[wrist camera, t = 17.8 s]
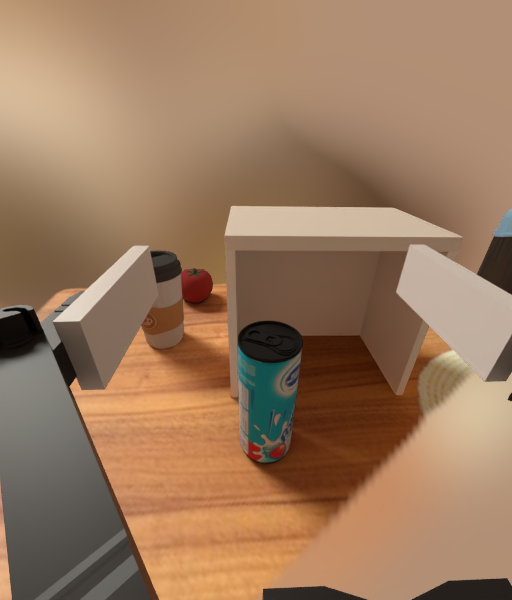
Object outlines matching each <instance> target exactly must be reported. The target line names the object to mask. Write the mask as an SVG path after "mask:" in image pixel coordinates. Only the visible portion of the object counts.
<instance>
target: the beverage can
mask: <svg viewBox="0 0 512 600" xmlns="http://www.w3.org/2000/svg"><path fill="white" fill-rule="evenodd" d="M302 345H303V339H302V336H301V334H300V333H299V332H298V331H297V330H296V329H295V328H293V327H292V326H290V325H288V324H285V323H282V322H278V321H258V322H254V323H252V324H249V325H247V326H246V327H244V328H243V329H242V330H241V331H240V333H239V335H238V391H239V430H240V444H241V446H242V449H243V451H244V452H245V453H246V455H247V456H248V457H249V458H251V459H252V460H254V461H256V462H259V463H266V464H268V463H273V462H276V461H278V460H280V459H281V458H282V457H283V456H284V455H285V454H286V453H287V451H288V449H289V447H290V443H291V435H292V427H293V419H294V411H295V404H296V396H297V388H298V380H299V371H300V363H301V354H302Z"/></svg>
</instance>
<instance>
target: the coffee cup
mask: <svg viewBox="0 0 512 600" xmlns="http://www.w3.org/2000/svg"><path fill="white" fill-rule="evenodd" d="M150 253H151V258H152V263H153V268H154V274H155V279H156V284H157V289H158V294H159V295H158V297H157V298H156V300H155V302H154V304H153V305H152V307H151V309H150V311H149V313H148V314H147V316H146V318H145V320H144V321H143V323H142V325H141V326H142V329H143V331H144V334H145V337H146V340H147V342H148V343H149V344H150V345H151V346H152V347H154V348H157V349H165V348H170V347H173V346H175V345H177V344H178V343H179V342H180V341H181V340H182V338H183V336H184V324H183V320H184V314H183V295H182V286H181V272H182V269H181V266H180V262H179V260H177V256H176V255H175V254H174V253H171V252H167V251H150Z"/></svg>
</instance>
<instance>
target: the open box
mask: <svg viewBox="0 0 512 600" xmlns="http://www.w3.org/2000/svg"><path fill="white" fill-rule="evenodd" d="M462 240H463V237H461V236H459V235H457V234H454V233H452V232H450V231H447V230H445V229H442V228H440V227H438V226H435V225H433V224H431V223H428V222H426V221H424V220H421V219H419V218H417V217H414V216H412V215H410V214H407V213H405V212H403V211H400V210H398V209H395V208H355V207H353V208H352V207H347V208H346V207H262V206H231V211H230V215H229V219H228V223H227V228H226V232H225V258H226V284H227V310H228V336H229V362H230V388H231V397H238V335H239V333H240V331H241V330H242V329H243V328H244V327H246V326H247V325H249V324H252V323H254V322H258V321H278V322H282V323H285V324H288V325H290V326H292V327H293V328H295V329H296V330H297V331H298V332H299V333H300V334H301V336H347V335H360V337H361V338H362V340H363V342H364V343H365V345H366V347H367V348H368V350H369V352H370V353H371V355H372V357H373V358H374V360H375V362H376V363H377V365H378V367H379V368H380V370H381V372H382V374H383V375H384V377H385V379H386V380H387V382H388V384H389V385H390V387H391V389H392V390H393V392H394V394H395V395H403V393H404V390H405V387H406V385H407V382H408V380H409V377H410V374H411V372H412V369H413V367H414V364H415V361H416V359H417V356H418V354H419V351H420V349H421V346H422V343H423V341H424V338H425V336H426V333H427V330H428V328H429V325H428V324H427V323H426V322H425V321H424V320H423V319H422V318H421V317H420V316H419V315H418V314H417V313H416V312H415V311H414V310H413V309H412V308H411V307H410V306H409V305H408V304H407V303H406V302H405V301H404V300H403V299H402V298H401V297H400V296H399V295H398V294H397V293H396V291H397V287H398V284H399V280H400V277H401V273H402V270H403V266H404V263H405V260H406V256H407V253H408V249H409V246H410V245H426V246H428V247H430V248H431V249H433V250H435V251H437V252H438V253H440V254H442V255H444V256H445V257H447V258H449V259H450V260H452V261H455V258H456V256H457V253H458V250H459V248H460V245H461V243H462Z"/></svg>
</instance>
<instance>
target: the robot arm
mask: <svg viewBox="0 0 512 600" xmlns="http://www.w3.org/2000/svg"><path fill="white" fill-rule="evenodd" d="M493 236H494V237H493V240H492V242H491V244H490V247H489V249H488V251H487V253H486V255H485V258H484V260H483V262H482V264H481V266H480V268H479V271H478V273H477V275H476V274H475V273H473V272H471V271H470V270H468V269H466V268H464V267H462V266H461V265H459V264H457V263H456V262H454V261H452V260H450V259H449V258H447V257H445V256H444V255H442V254H440V253H438V252H437V251H435V250H433V249H431V248H430V247H428V246H426V245H410V246H409V249H408V253H407V256H406V260H405V263H404V266H403V270H402V273H401V277H400V280H399V284H398V287H397V291H396V293H397V294H398V295H399V296H400V297H401V298H402V299H403V300H404V301H405V302H406V303H407V304H408V305H409V306H410V307H411V308H412V309H413V310H414V311H415V312H416V313H417V314H418V315H419V316H420V317H421V318H422V319H423V320H424V321H425V322H426V323H427V324H428V325H429V326H430V327H431V328H432V329H433V330H434V331H435V332H436V333H437V334H438V335H439V336H440V337H441V338H442V339H443V340H444V341H445V342H446V343H447V344H448V345H449V346H450V347H451V348H452V349H453V350H454V351H455V352H456V353H457V354H458V355H459V356H460V357H461V358H462V359H463V360H464V361H465V362H466V363H467V364H468V365H469V366H470V367H471V368H472V369H473V370H474V371H475V372H476V373H477V374H478V375H479V376H480V377H481V378H482V379H483V380H484V381H488V382H489V381H506V380H507V379H508V377H509V375H510V374H511V372H512V208H511V209H510V210H508V211H507V212H506V213H505V214H504V216H503V218H502V220H501V222H500V224H499V226H498V228H497V230H496V231H494V233H493ZM158 295H159V294H158V289H157V284H156V279H155V274H154V268H153V263H152V258H151V253H150V247H149V246H133V247H132V248H131V249H130V250H129V251H128V252H127V253H126V254H125V255H123V256H122V257H121V258H120V259H119V260H118V261H117V262H116V263H115V264H114V265H113V266H112V267H110V268H109V269H108V270H107V271H106V272H105V273H104V274H103V275H102V276H101V277H100V278H99V279H98V280H97V281H95V282H94V283H93V284H92V285H91V286H90V287H89V288H88V289H87V290H86V291H81V292H79V293H77V294H75V295H73V296H71V297H69V298H68V299H67V300H66V301H65V302H64V303H63V304H62V305H61V306H59V307H58V308H57V309H56V310H55V312H52V313H51V314H50V315H49V316H48V317H47V318H46V319H45V320H43V321H42V322H41V323H40V322H39V319H38V317H37V315H36V313H35V311H34V309H33V308H32V307H30V306H25V305H17V306H10V307H5V308H1V309H0V484H1V493H2V503H3V513H4V523H5V533H6V543H7V553H8V563H9V573H10V583H11V593H12V600H159V599H158V596H157V594H156V591H155V589H154V587H153V584H152V582H151V580H150V577H149V575H148V572H147V570H146V568H145V565H144V563H143V560H142V558H141V556H140V553H139V551H138V549H137V546H136V544H135V541H134V539H133V537H132V534H131V532H130V529H129V527H128V525H127V522H126V520H125V518H124V515H123V513H122V510H121V508H120V506H119V503H118V501H117V498H116V496H115V494H114V491H113V489H112V487H111V484H110V482H109V479H108V477H107V475H106V472H105V470H104V467H103V465H102V463H101V460H100V458H99V456H98V453H97V451H96V448H95V446H94V444H93V441H92V439H91V436H90V434H89V432H88V429H87V427H86V425H85V422H84V420H83V417H82V415H81V413H80V410H79V408H78V405H77V403H76V401H75V398H74V396H73V394H72V391H71V389H70V387H69V386H70V385H71V383H72V382H73V381H74V379H75V378H77V380H78V382H79V385H80V387H81V389H82V390H97V389H105V388H106V387H107V385H108V383H109V381H110V380H111V378H112V376H113V374H114V372H115V371H116V369H117V367H118V365H119V364H120V362H121V360H122V358H123V357H124V355H125V353H126V351H127V350H128V348H129V346H130V344H131V342H132V341H133V339H134V337H135V335H136V334H137V332H138V330H139V328H140V327H141V325H142V323H143V321H144V320H145V318H146V316H147V314H148V313H149V311H150V309H151V307H152V305H153V304H154V302H155V300H156V298H157V297H158ZM508 400H510V401H512V393H511V394H510V396H509V398H508ZM263 600H367V599H363V598H360V597H357V596H354V595H351V594H347V593H344V592H341V591H338V590H335V589H331V588H328V587H325V586H318V587H297V588H296V587H295V588H272V589H263ZM412 600H512V586H511V584H510V582H509V581H508V579H507V578H504V579H482V580H460V581H447V582H446V583H444V584H442V585H440V586H438V587H436V588H434V589H432V590H430V591H428V592H426V593H424V594H422V595H420V596H418V597H416V598H414V599H412Z"/></svg>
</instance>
